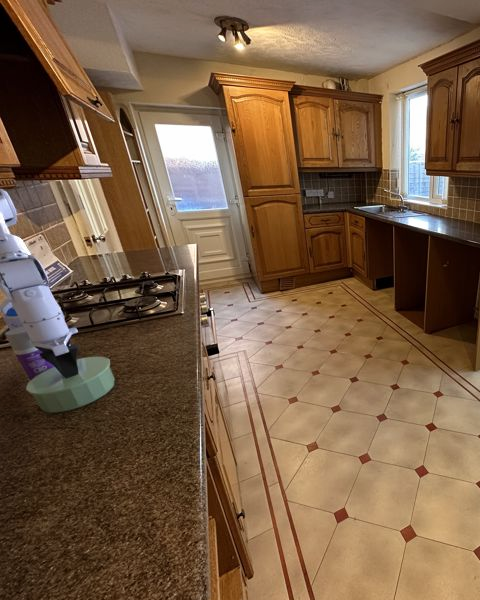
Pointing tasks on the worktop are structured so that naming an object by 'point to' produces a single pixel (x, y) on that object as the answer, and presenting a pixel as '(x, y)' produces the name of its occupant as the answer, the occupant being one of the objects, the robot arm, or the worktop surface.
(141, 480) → the worktop surface
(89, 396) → the pot
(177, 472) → the worktop surface
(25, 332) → the container
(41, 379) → the lid
